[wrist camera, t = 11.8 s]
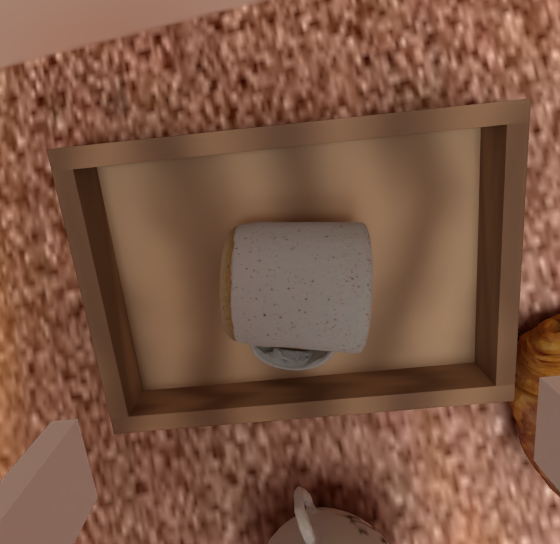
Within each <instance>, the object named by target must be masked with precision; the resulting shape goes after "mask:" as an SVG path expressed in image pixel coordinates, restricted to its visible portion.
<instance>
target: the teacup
mask: <svg viewBox="0 0 560 544" xmlns="http://www.w3.org/2000/svg"><path fill="white" fill-rule="evenodd" d="M304 504H305V505H306V510H305V507H304ZM294 512H295V517H293V518H291V519H290V520H289V521H287V522H286V523H285V524H283V525H282V526H281V527H280V528H279V529H278V530H277V531H276V532H275V534H274V535H273V536H272V537H271V539H270V540H269V541H268V542H267V544H390V543H389V542H388V541H387V539H386V538H385V537H384V536H383V535H382V534H381V533H379V532H378V531H377V530H376V529H375V528H374V527H373V526H371V525H370V524H369V523H367V522H366V521H364V520H363V519H361V518H359V517H357V516H355V515H353V514H351V513H349V512H345V511H342V510H338V509H335V508H329V507H318V508H316V507H315V506H314V504H313V501H312V498H311V495H310V494H309V492H308V491H307V490H306V489H304V488H303V487H300V486H298V487H297V488H296V489H295V491H294Z"/></svg>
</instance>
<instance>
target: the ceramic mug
mask: <svg viewBox="0 0 560 544" xmlns="http://www.w3.org/2000/svg"><path fill="white" fill-rule="evenodd" d="M372 290H373V256H372V251H371V239H370V235H369V231H368V229H367V227H366V225H365V224H364V223H362V222H255V223H249V224H242V225H239V226H235V227H234V228H233V229H232V230H231V231H230V232H229V233H228V235H227V236H226V239H225V242H224V246H223V250H222V257H221V266H220V289H219V301H220V313H221V321H222V325H223V328H224V331H225V333H226V334H227V335H228V336H229V338H231V339H232V340H234V341H237V342H240V343H244V344H249V345H250V348H251V350H252V351H253V353H254V355H255V356H256V357H257V358H258V359H260V360H261V361H262V362H264V363H266V364H268V365H270V366H273V367H276V368H280V369H286V370H307V369H312V368H316V367H318V366H320V365H322V364H324V363H325V362H326V361H328V360H329V359H330V358H331V357H332V356H333V355H334V353H335V352H343V353H361V352H362V350H363V349H364V347H365V345H366V340H367V337H368V333H369V328H370V320H371V311H372V307H371V306H372ZM276 347H287V348H299V349H309V350H307V351H294V350H288V349H280V348H276Z"/></svg>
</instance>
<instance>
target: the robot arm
mask: <svg viewBox="0 0 560 544" xmlns="http://www.w3.org/2000/svg"><path fill="white" fill-rule="evenodd" d="M534 461H535V463H536V464H537V465H538V466H539V467H540V469H541V470H542V471H543V472H544V473H545V475H546V476H547V477H548V478H549V479H550V481H551V482H552V483H553V484H554V485H555V487H556V488H557V489H558V490H559V491H560V376H549V377H539V391H538V406H537V420H536V435H535V449H534ZM97 498H98V496H97V492H96V488H95V484H94V480H93V477H92V473H91V469H90V465H89V461H88V457H87V453H86V449H85V446H84V442H83V438H82V434H81V430H80V426H79V422H78V419H69V420H58V421H51V422H50V423H49V424H48V426H47V427H46V428H45V429H44V430H43V432H42V433H41V434H40V435H39V436H38V437H37V439H36V440H35V441H34V442H33V443H32V445H31V446H30V447H29V448H28V449H27V450H26V452H25V453H24V454H23V455H22V456H21V458H20V459H19V460H18V461H17V462H16V463H15V465H14V466H13V467H12V468H11V469H10V471H9V472H8V473H7V474H6V475H5V476H4V478H3V479H2V480H1V481H0V544H74V542H75V540H76V538H77V536H78V535H79V533H80V531H81V529H82V527H83V525H84V523H85V521H86V519H87V517H88V515H89V514H90V512H91V510H92V508H93V506H94V504H95V502H96V500H97Z"/></svg>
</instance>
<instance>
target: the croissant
mask: <svg viewBox="0 0 560 544" xmlns="http://www.w3.org/2000/svg"><path fill="white" fill-rule="evenodd" d="M549 376H560V314H558V315H556V316H554V317H552V318H549V319H546V320H544V321H542V322H541V323H539V324H538V325H537V326H536V327H535V328H533V329H532V330H530V331H528V332H526V333H524V334H522V335H521V336H520V338H519V341H518V342H517V355H516V373H515V391H514V401H508V402H509V404H510V406H511V409H512V412H513V416H514V418H515V419H516V422H517V424H518V427H519V430H520V433H521V434H520V436H519V438H520V443H521V446H522V448H523V450H524V452H525V454H526V456H527V457H528V459H529V460H530V462H531V463H532V465H533V466H534V467H535V469H536V470H537V472H538V473H539V474H540V475H541V477H542V478H543V479H544V480H545V482H546V483H547V485H548V486H549V487H550V488H551V489H552V490H553V491H554V492H555V493H556V494H557V495H558V496H559V497H560V491H559V490H558V489H557V488H556V487H555V485H554V484H553V483H552V482H551V481H550V479H549V478H548V477H547V476H546V475H545V473H544V472H543V471H542V470H541V469H540V467H539V466H538V465H537V464H536V463H535V461H534V449H535V435H536V420H537V406H538V391H539V377H549Z"/></svg>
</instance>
